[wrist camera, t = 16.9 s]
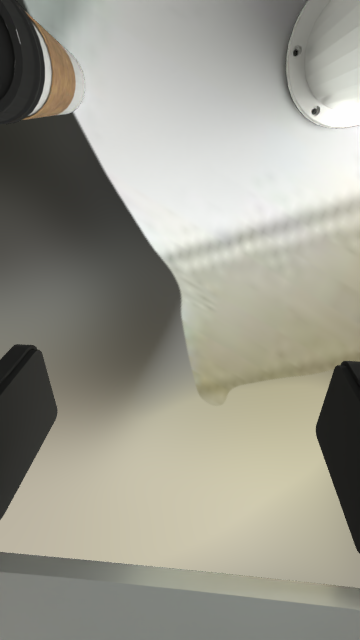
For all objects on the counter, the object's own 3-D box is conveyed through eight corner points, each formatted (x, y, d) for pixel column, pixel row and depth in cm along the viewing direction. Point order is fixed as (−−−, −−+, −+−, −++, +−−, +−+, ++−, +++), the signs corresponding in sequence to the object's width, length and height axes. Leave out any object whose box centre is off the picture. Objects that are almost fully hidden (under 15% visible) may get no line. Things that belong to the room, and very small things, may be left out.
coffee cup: (16, 110, 36) (-94, 97, 23) (22, 14, 31) (-109, -70, 18) (88, 139, 36) (22, 141, 24) (104, 49, 32) (33, -8, 19)
